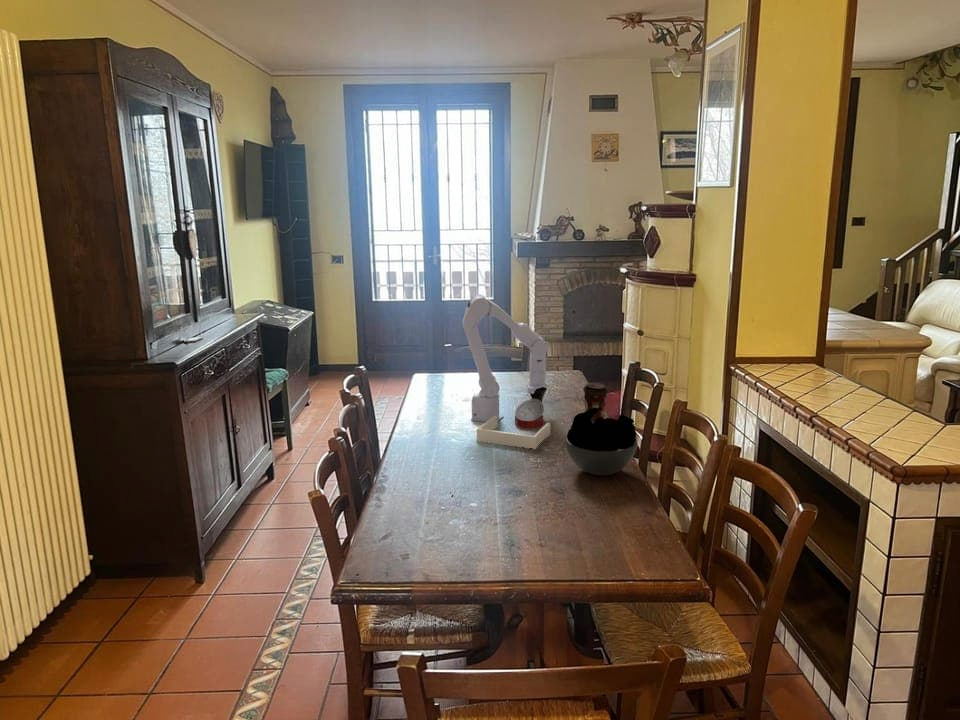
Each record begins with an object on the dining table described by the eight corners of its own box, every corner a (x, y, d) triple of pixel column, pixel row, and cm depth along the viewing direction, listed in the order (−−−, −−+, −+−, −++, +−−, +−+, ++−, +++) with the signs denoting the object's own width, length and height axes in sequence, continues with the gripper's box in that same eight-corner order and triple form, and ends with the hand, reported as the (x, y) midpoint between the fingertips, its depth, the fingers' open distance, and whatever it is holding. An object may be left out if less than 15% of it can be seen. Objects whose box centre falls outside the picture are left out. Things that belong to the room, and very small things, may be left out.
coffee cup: (578, 422, 235) (579, 386, 232) (586, 415, 242) (587, 380, 239) (602, 426, 231) (604, 389, 228) (610, 419, 238) (611, 383, 235)
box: (476, 440, 218) (476, 429, 217) (494, 426, 231) (494, 415, 230) (535, 449, 210) (535, 437, 209) (550, 434, 223) (550, 422, 222)
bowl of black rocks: (552, 465, 198) (553, 403, 193) (611, 455, 204) (613, 395, 200) (586, 491, 179) (588, 424, 175) (650, 480, 186) (653, 415, 182)
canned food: (543, 437, 234) (552, 417, 228) (517, 438, 230) (526, 418, 224) (532, 414, 242) (541, 394, 236) (507, 415, 238) (515, 394, 232)
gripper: (541, 376, 229) (541, 414, 232) (554, 367, 242) (554, 403, 245) (522, 374, 232) (522, 412, 235) (536, 365, 245) (535, 401, 248)
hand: (537, 407), depth 240 cm, fingers closed
